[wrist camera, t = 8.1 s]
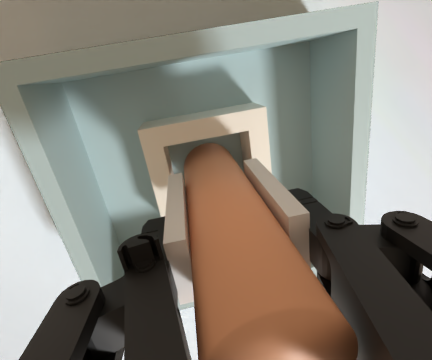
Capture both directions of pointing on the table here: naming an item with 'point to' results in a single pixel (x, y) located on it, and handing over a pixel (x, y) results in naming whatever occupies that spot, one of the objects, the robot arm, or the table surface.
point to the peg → (252, 274)
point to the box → (193, 120)
